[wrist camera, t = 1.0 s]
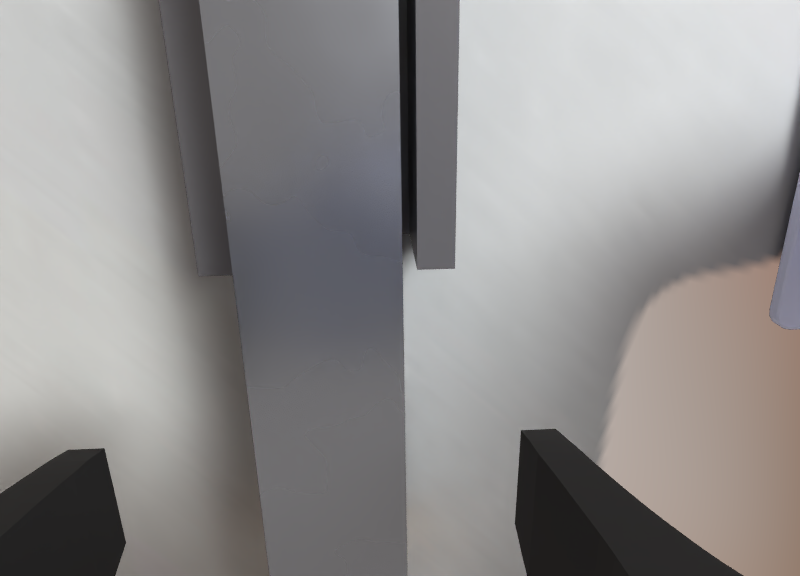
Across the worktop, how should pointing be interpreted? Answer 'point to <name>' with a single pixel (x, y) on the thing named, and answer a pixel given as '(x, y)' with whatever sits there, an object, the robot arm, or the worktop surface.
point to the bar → (317, 270)
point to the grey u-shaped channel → (419, 130)
